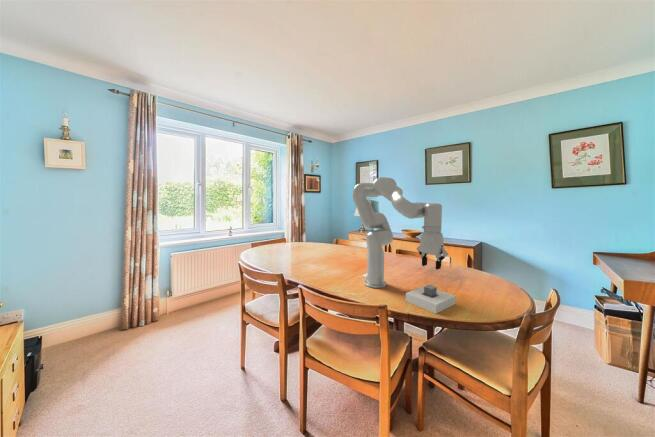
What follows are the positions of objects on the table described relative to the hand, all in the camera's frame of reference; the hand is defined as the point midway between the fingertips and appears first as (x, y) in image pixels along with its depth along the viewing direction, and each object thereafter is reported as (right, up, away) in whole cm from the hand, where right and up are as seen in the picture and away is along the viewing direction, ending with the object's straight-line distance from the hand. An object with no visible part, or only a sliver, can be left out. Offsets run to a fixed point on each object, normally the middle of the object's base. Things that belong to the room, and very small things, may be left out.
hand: (431, 266), depth 118 cm
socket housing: (0, -18, +2) cm, 18 cm away
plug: (0, -18, +2) cm, 18 cm away
